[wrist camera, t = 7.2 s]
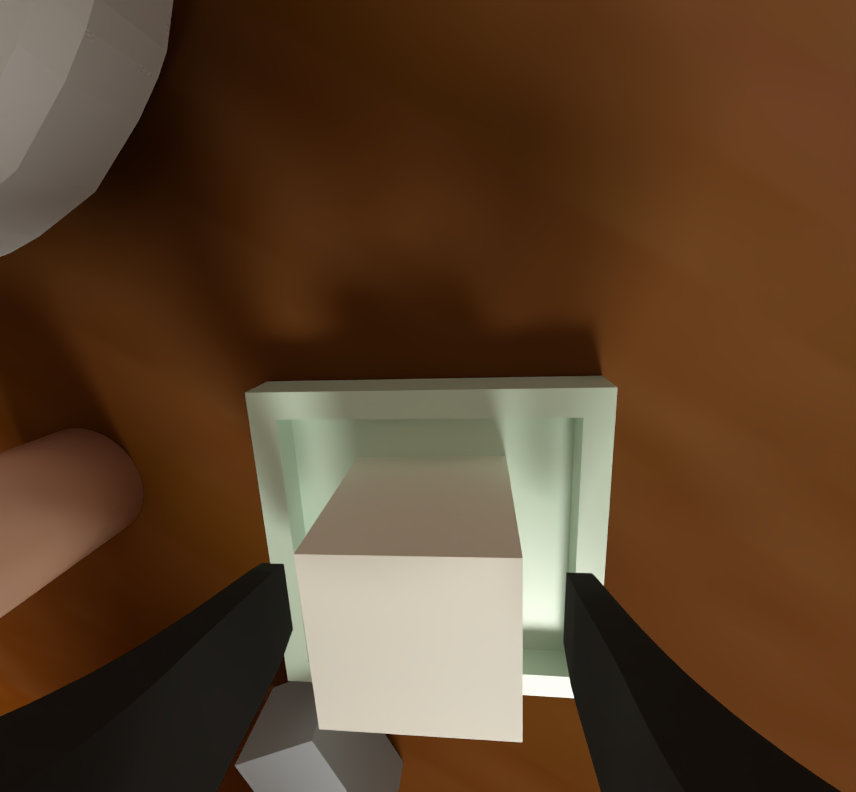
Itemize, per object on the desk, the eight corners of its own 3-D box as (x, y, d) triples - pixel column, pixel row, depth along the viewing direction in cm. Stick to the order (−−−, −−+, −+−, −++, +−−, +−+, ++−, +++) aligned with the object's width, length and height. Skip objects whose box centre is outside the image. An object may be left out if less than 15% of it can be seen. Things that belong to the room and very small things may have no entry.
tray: (585, 662, 15) (595, 699, 14) (303, 647, 16) (287, 680, 15) (602, 375, 13) (617, 387, 11) (267, 381, 14) (244, 392, 12)
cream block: (507, 586, 14) (522, 742, 10) (369, 583, 15) (319, 729, 10) (505, 455, 13) (523, 557, 8) (357, 456, 14) (293, 554, 9)
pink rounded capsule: (153, 534, 16) (13, 647, 11) (52, 532, 16) (-126, 639, 11) (130, 428, 15) (-37, 500, 10) (22, 427, 15) (-187, 498, 10)
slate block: (403, 757, 18) (389, 851, 15) (339, 776, 18) (313, 870, 15) (340, 660, 17) (311, 740, 14) (274, 683, 17) (234, 765, 14)
